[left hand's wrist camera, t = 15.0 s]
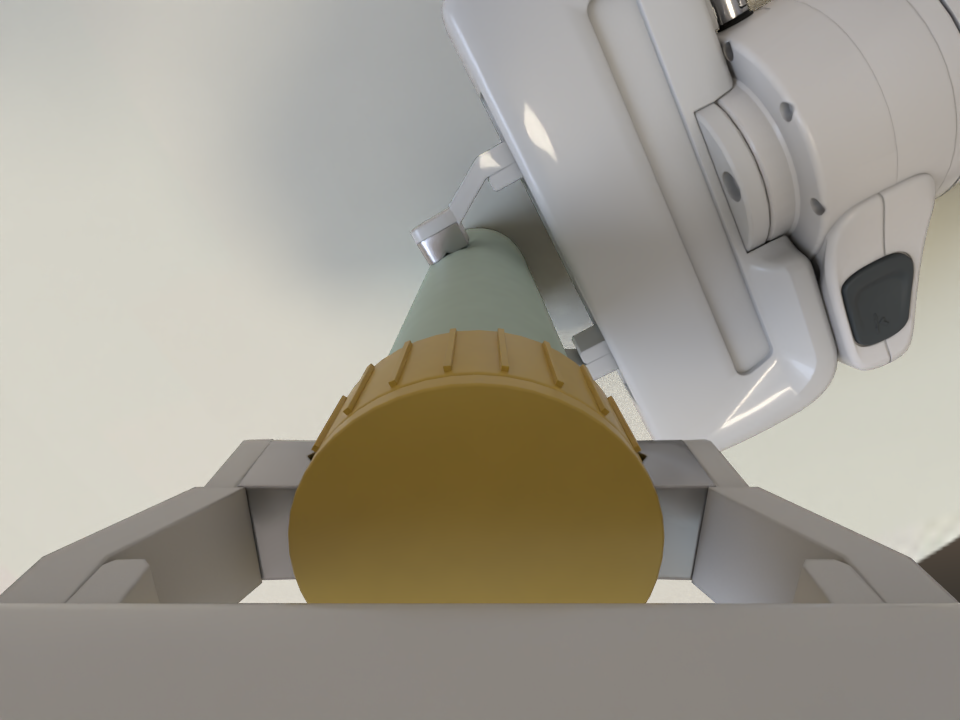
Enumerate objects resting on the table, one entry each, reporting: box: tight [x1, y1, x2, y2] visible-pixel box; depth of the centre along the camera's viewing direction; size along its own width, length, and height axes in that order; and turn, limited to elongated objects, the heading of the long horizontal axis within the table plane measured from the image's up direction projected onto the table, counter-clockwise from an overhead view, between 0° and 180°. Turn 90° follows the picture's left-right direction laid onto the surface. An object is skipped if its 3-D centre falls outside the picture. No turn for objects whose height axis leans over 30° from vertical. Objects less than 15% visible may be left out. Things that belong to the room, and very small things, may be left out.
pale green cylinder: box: [389, 228, 567, 357], centre depth 17 cm, size 5×5×19 cm
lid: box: [288, 328, 665, 603], centre depth 9 cm, size 6×6×2 cm
